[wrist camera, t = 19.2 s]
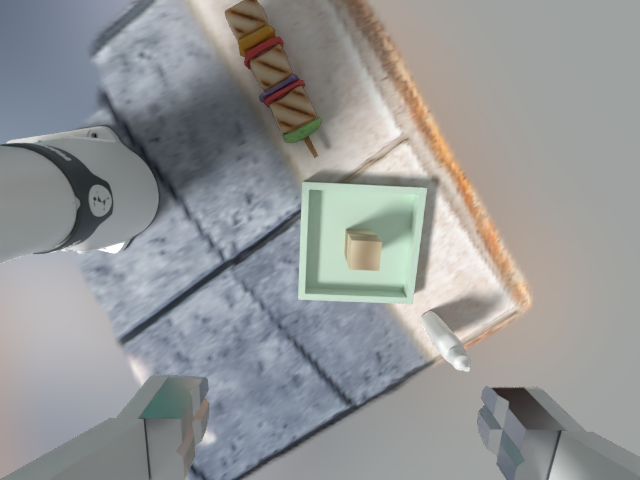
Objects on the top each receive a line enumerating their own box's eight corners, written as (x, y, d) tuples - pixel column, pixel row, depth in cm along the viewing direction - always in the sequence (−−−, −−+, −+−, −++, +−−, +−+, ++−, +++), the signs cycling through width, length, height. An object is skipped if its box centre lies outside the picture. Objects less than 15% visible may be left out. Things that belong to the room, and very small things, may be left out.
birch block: (344, 253, 48) (349, 269, 40) (345, 229, 47) (351, 240, 39) (368, 254, 48) (379, 270, 40) (371, 230, 47) (382, 241, 39)
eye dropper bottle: (445, 308, 51) (483, 348, 39) (445, 338, 52) (483, 386, 40) (419, 310, 51) (450, 352, 39) (420, 340, 52) (451, 389, 40)
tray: (299, 291, 50) (298, 299, 47) (303, 181, 46) (302, 182, 43) (407, 296, 50) (412, 303, 47) (420, 187, 46) (427, 188, 43)
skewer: (224, 31, 41) (212, 12, 37) (265, 6, 41) (258, -16, 36) (296, 168, 46) (294, 167, 41) (334, 147, 45) (336, 144, 40)
